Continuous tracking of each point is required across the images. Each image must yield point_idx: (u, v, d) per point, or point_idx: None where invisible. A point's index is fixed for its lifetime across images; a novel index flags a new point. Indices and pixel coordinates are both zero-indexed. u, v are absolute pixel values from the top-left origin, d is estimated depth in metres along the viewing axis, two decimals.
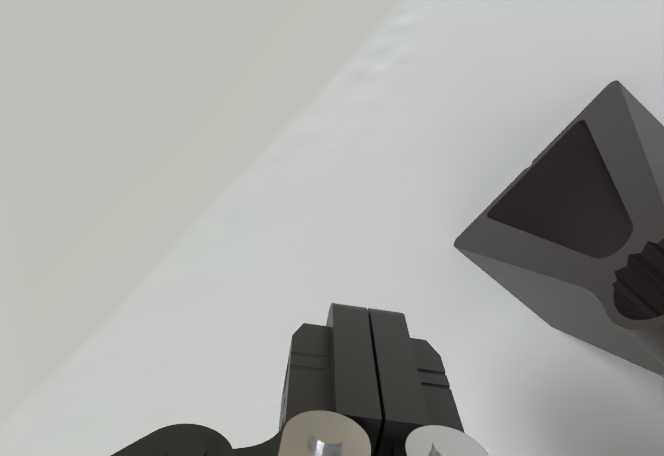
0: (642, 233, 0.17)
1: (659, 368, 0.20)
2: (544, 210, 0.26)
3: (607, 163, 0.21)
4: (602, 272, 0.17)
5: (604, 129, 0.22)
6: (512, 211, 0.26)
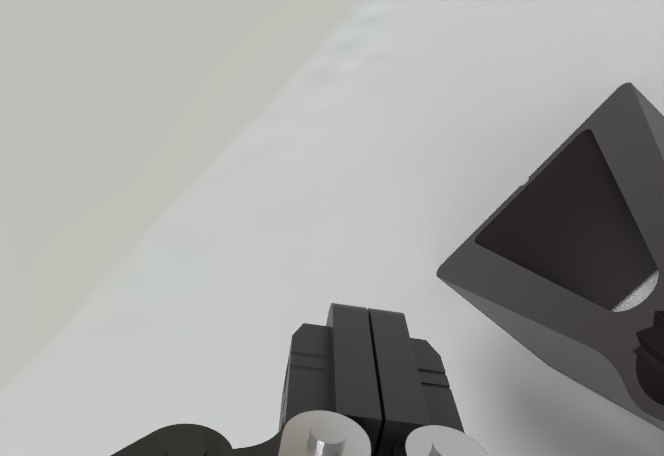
0: None
1: None
2: (542, 234, 0.22)
3: (621, 185, 0.17)
4: (620, 331, 0.14)
5: (615, 142, 0.18)
6: (505, 235, 0.22)
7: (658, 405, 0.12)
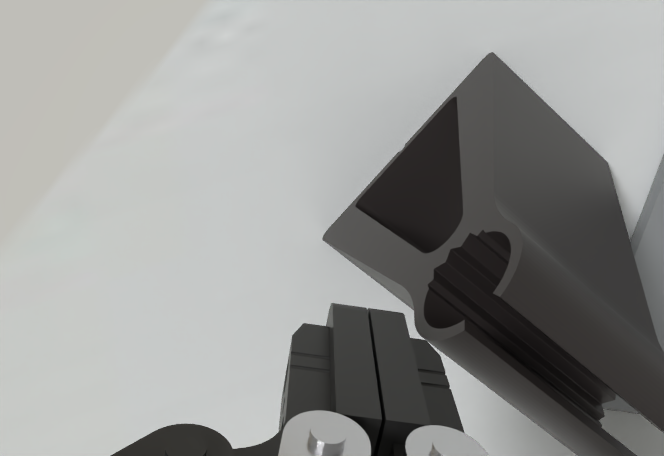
0: (468, 223, 0.14)
1: None
2: (420, 199, 0.23)
3: (461, 143, 0.18)
4: (424, 269, 0.15)
5: (468, 106, 0.20)
6: (385, 200, 0.23)
7: (430, 327, 0.13)
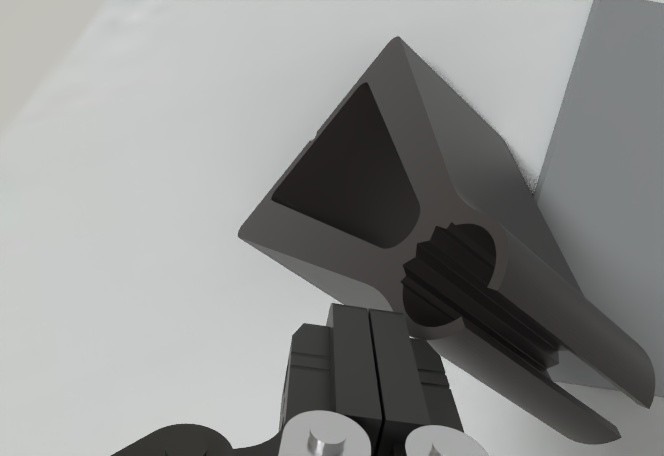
0: (430, 216, 0.14)
1: None
2: (334, 186, 0.23)
3: (391, 132, 0.18)
4: (390, 266, 0.15)
5: (387, 92, 0.20)
6: (300, 191, 0.22)
7: (419, 326, 0.13)
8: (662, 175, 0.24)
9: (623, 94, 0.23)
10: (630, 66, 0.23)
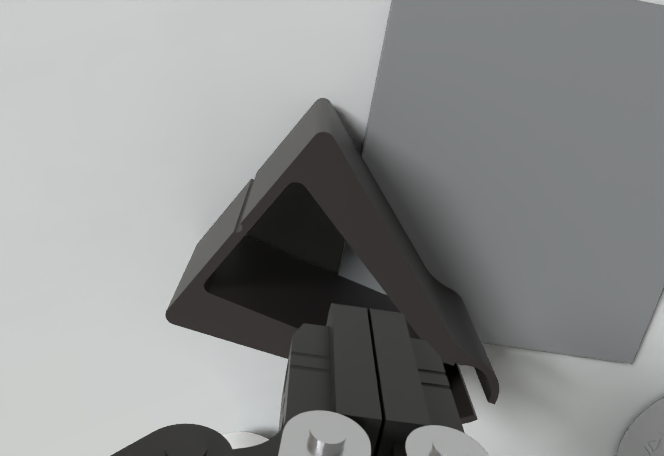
0: None
1: None
2: None
3: (370, 269, 0.22)
4: None
5: (344, 216, 0.21)
6: None
7: None
8: (477, 131, 0.26)
9: (432, 53, 0.25)
10: (435, 26, 0.24)
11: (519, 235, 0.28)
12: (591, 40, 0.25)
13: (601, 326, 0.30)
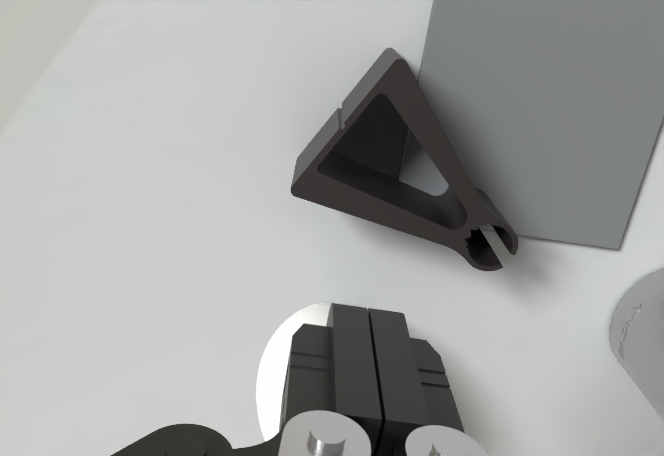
0: (474, 217, 0.34)
1: None
2: None
3: (429, 155, 0.32)
4: (456, 238, 0.34)
5: (412, 117, 0.32)
6: None
7: (481, 265, 0.35)
8: (499, 69, 0.37)
9: (466, 14, 0.35)
10: None
11: (531, 148, 0.38)
12: (578, 2, 0.35)
13: (593, 219, 0.40)
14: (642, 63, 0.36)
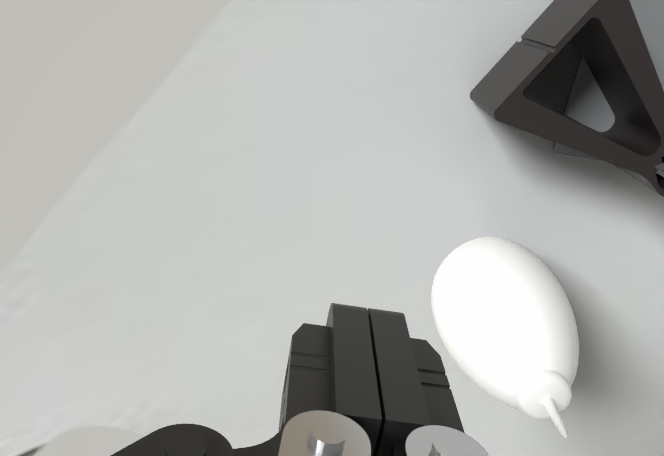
0: None
1: None
2: None
3: (633, 80, 0.33)
4: (647, 165, 0.35)
5: (622, 41, 0.33)
6: None
7: None
8: None
9: None
10: None
11: None
12: None
13: None
14: None
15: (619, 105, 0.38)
